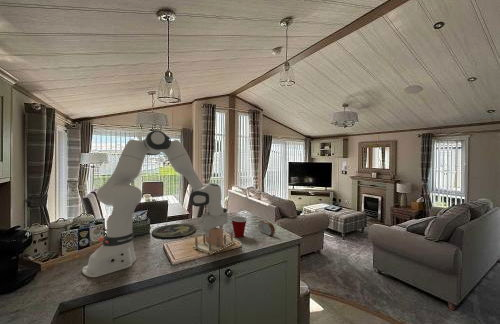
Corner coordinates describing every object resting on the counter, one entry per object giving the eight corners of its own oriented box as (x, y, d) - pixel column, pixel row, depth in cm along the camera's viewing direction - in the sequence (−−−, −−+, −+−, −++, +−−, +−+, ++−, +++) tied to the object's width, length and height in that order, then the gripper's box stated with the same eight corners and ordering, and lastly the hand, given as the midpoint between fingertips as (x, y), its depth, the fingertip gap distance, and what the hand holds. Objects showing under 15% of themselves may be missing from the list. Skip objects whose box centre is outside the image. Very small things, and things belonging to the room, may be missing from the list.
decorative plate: (143, 237, 146) (162, 223, 176) (143, 239, 146) (162, 225, 176) (189, 237, 146) (200, 223, 176) (189, 240, 146) (200, 225, 176)
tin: (275, 236, 149) (275, 223, 149) (271, 237, 147) (271, 224, 147) (261, 230, 162) (261, 218, 162) (257, 231, 160) (257, 219, 160)
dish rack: (211, 254, 122) (211, 242, 122) (192, 248, 131) (192, 237, 130) (235, 243, 138) (235, 232, 138) (217, 238, 147) (217, 228, 147)
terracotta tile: (220, 246, 130) (220, 230, 130) (205, 241, 137) (205, 226, 137) (223, 244, 132) (223, 229, 132) (208, 240, 139) (208, 225, 139)
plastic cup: (242, 240, 143) (241, 221, 143) (227, 237, 148) (227, 219, 148) (250, 235, 152) (250, 217, 152) (237, 232, 158) (236, 215, 157)
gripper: (204, 215, 124) (205, 241, 124) (229, 208, 140) (229, 231, 141) (196, 214, 127) (197, 238, 128) (221, 207, 144) (222, 229, 144)
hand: (214, 234), depth 134 cm, fingers open, 8 cm apart
